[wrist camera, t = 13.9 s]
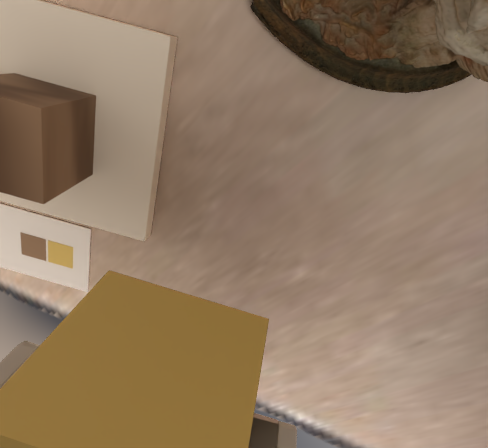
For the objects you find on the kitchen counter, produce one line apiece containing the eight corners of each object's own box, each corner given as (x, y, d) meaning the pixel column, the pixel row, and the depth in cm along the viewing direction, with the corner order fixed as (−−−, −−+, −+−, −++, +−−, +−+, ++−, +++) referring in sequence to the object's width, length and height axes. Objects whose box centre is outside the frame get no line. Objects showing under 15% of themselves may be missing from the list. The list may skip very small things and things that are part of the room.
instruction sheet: (91, 228, 27) (90, 229, 26) (88, 291, 29) (87, 292, 29) (-25, 196, 27) (-27, 196, 27) (-17, 261, 29) (-18, 262, 29)
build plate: (177, 36, 20) (170, 36, 19) (151, 233, 26) (144, 241, 25) (-43, -23, 20) (-62, -27, 19) (-20, 185, 26) (-33, 191, 25)
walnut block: (96, 95, 21) (41, 108, 16) (92, 174, 23) (43, 204, 19) (14, 73, 21) (-62, 79, 17) (19, 153, 23) (-47, 178, 19)
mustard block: (269, 318, 11) (237, 513, 6) (232, 421, 13) (190, 616, 8) (109, 270, 11) (-33, 424, 6) (101, 379, 13) (-7, 548, 9)
